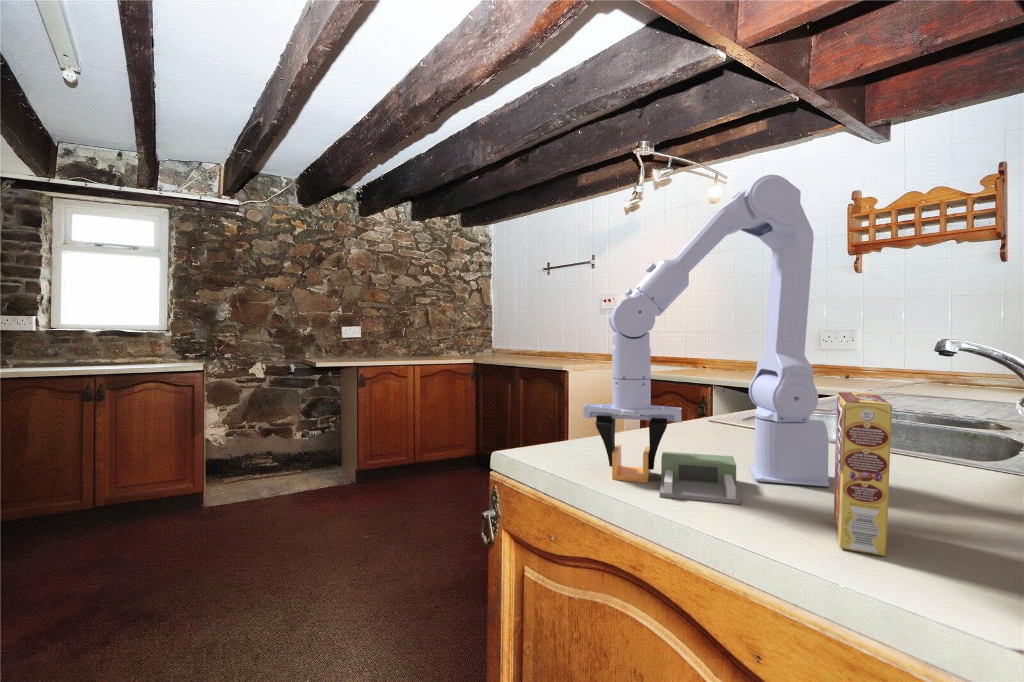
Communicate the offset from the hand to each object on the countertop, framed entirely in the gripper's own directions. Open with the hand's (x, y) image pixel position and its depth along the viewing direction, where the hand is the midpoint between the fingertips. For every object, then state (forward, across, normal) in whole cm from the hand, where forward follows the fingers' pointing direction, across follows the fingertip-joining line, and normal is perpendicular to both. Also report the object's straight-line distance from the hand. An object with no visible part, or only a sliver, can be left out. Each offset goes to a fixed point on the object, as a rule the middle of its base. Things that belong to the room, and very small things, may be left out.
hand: (631, 466), depth 79 cm
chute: (+1, 0, 0) cm, 1 cm away
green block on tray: (+1, +10, -3) cm, 10 cm away
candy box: (+2, +26, -16) cm, 30 cm away
